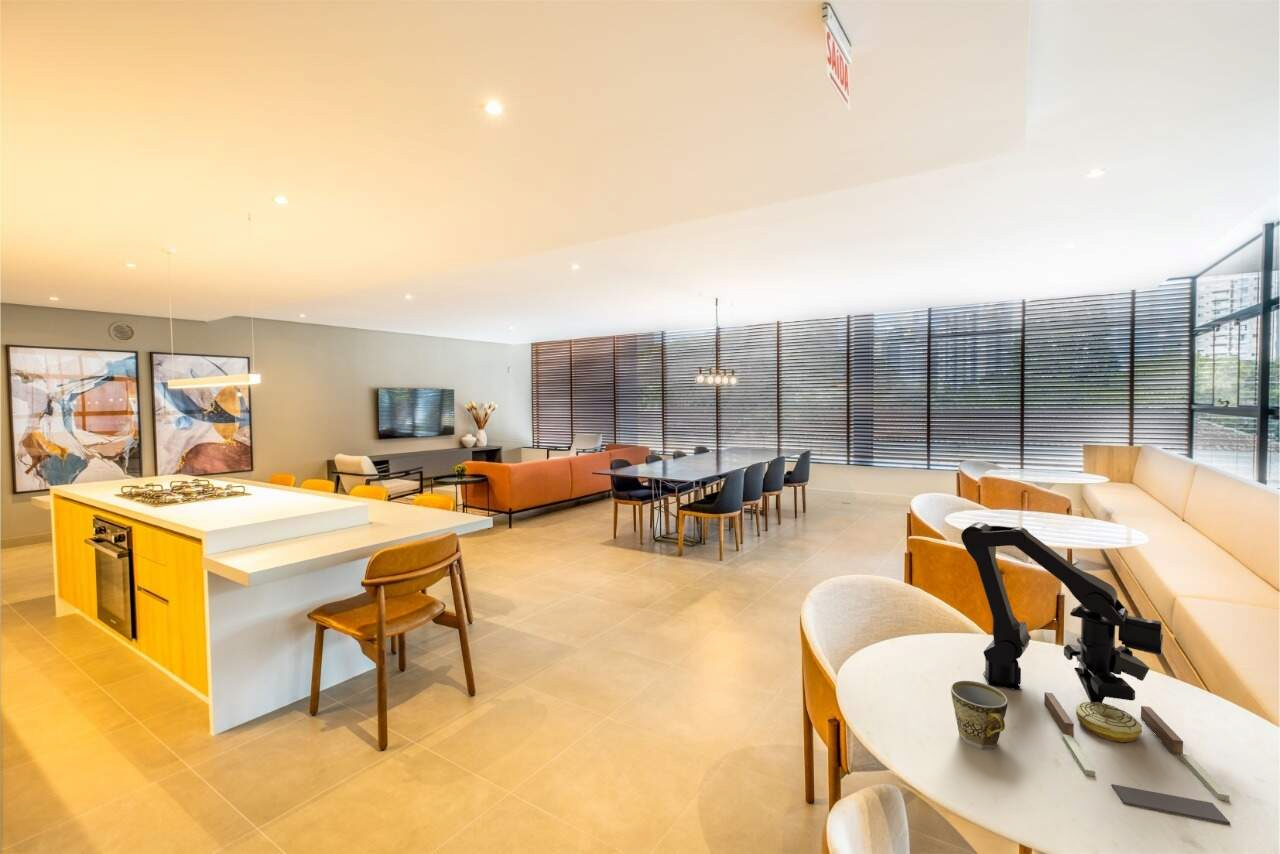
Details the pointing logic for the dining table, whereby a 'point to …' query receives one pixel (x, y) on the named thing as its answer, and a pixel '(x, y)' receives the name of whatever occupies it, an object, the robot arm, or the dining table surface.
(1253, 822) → the dining table surface
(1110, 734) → the decorated donut
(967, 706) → the ceramic cup
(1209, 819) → the dark grey rectangular plate
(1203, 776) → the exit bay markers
